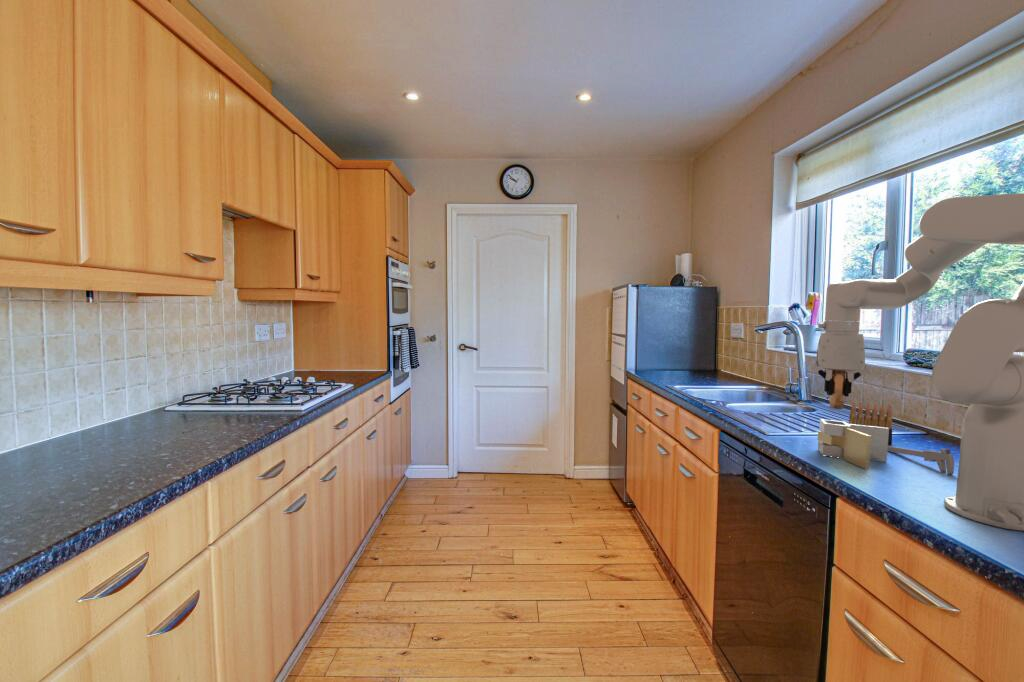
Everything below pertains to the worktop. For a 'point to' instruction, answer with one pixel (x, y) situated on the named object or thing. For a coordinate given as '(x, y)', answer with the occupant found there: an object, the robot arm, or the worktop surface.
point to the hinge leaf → (851, 446)
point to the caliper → (930, 457)
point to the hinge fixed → (839, 427)
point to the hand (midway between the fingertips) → (837, 394)
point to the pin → (838, 389)
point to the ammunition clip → (872, 418)
